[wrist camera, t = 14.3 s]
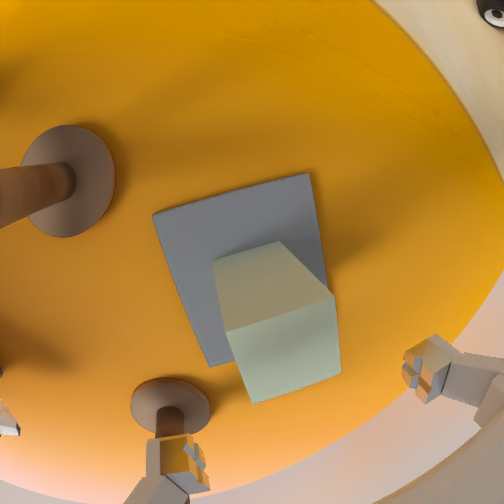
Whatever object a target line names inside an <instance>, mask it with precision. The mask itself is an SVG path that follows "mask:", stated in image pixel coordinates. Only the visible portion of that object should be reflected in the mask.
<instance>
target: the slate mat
mask: <svg viewBox="0 0 504 504" xmlns="http://www.w3.org/2000/svg"><path fill="white" fill-rule="evenodd" d="M152 219H153V222H154V225H155V228H156V232H157V235H158V238H159V240H160V243H161V246H162V249H163V252H164V255H165V258H166V261H167V264H168V266H169V269H170V272H171V275H172V277H173V280H174V283H175V285H176V288H177V291H178V293H179V296H180V298H181V301H182V304H183V306H184V309H185V311H186V314H187V316H188V319H189V321H190V323H191V326H192V328H193V331H194V333H195V335H196V338H197V340H198V343H199V345H200V347H201V349H202V352H203V354H204V356H205V359H206V361H207V363H208V365H209V368H210V367H214V366H218V365H222V364H225V363H229V362H232V361H235V358H234V355H233V353H232V350H231V347H230V344H229V342H228V339H227V336H226V333H225V330H224V325H223V320H222V315H221V310H220V305H219V300H218V295H217V290H216V284H215V279H214V274H213V268H212V263H211V261H212V260H215V259H219V258H222V257H226V256H229V255H232V254H236V253H239V252H243V251H246V250H249V249H253V248H256V247H260V246H263V245H267V244H270V243H273V242H277V241H280V242H281V243H282V244H283V245H284V246H285V247H286V248H287V249H288V250H289V251H290V252H291V253H292V254H293V255H294V256H295V257H296V258H297V259H298V260H299V261H300V262H301V263H302V264H303V265H304V266H305V267H306V268H307V269H308V270H309V271H310V272H311V273H312V274H313V275H314V276H315V277H316V278H317V279H318V280H319V281H320V282H321V283H322V284H323V285H324V286H325V287H326V288H327V289H328V286H327V278H326V271H325V264H324V257H323V250H322V244H321V237H320V231H319V225H318V219H317V214H316V208H315V202H314V197H313V192H312V186H311V181H310V176H309V173H301V174H297V175H292V176H288V177H284V178H280V179H276V180H271V181H267V182H263V183H259V184H256V185H252V186H248V187H244V188H240V189H236V190H233V191H229V192H225V193H222V194H218V195H215V196H211V197H208V198H204V199H201V200H197V201H194V202H190V203H187V204H184V205H180V206H177V207H174V208H171V209H167V210H164V211H161V212H158V213H155V214H153V215H152Z"/></svg>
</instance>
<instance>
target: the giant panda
mask: <svg viewBox="0 0 504 504" xmlns="http://www.w3.org/2000/svg"><path fill="white" fill-rule="evenodd" d="M1 377H2V370H1V368H0V378H1ZM20 429H21V428H20V427H19V425H18V422H17V419H16V417H15V416H14V415H13V414H12V412H11V411H10V410H9V409H8V408H7V407H6V406H5V405H4V404H3V402H2V400H1V398H0V437H1V434H5V435H16V436H20Z"/></svg>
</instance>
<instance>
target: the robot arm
mask: <svg viewBox="0 0 504 504" xmlns="http://www.w3.org/2000/svg"><path fill="white" fill-rule="evenodd" d="M403 359H404V360H405V361H406V362H405V363H404V365H403V366H402V376H403V379H404V381H405V383H406V384H407V385H408V386H409V387H410V388H414V389H416V395H417V396H418V397H419V398H420V399H421V401H422V402H423V403H424V404H427V403H428V402H430V401H431V400H433V399H435V398H436V397H438V396H439V395H440V394H441V395H443V396H446V397H448V398H451V399H454V400H457V401H460V402H463V403H466V404H469V405H473V406H475V407H479V409H478V410H477V412H476V414H475V416H474V421H475V422H476V423H477V424H478V425H479V426H480V427H481V428H482V429H481V430H479V431H478V432H477V433H476V434H475V435H474V436H473V437H472V438H470V439H469V440H468V441H467V442H466V443H464V444H463V445H462V446H461V447H460V448H458V449H457V450H456V451H455V452H453V453H452V454H451V455H450V456H448V457H447V458H445V459H444V460H443V461H442V462H440V463H439V464H437V465H436V466H434V467H433V468H432V469H430V470H429V471H427V472H426V473H424V474H423V475H421V476H420V477H418V478H417V479H415V480H413V481H412V482H410V483H409V484H407V485H405V486H404V487H402V488H400V489H398V490H397V491H395V492H393V493H391V494H390V495H388V496H386V497H384V498H382V499H380V500H378V501H376V502H374V503H372V504H504V359H503V358H496V357H489V356H483V355H477V354H471V353H463V354H461V353H460V352H459V351H458V350H457V349H455V348H454V347H453V346H452V345H450V344H449V343H448V342H447V341H445V340H444V339H443V338H442V337H440V336H439V335H437V334H434V335H432V336H431V337H429V338H427V339H426V340H424V341H422V342H420V343H419V344H417V345H415V346H414V347H412V348H410V349H409V350H407V351H406V352H405V353H404V357H403ZM205 467H206V462H205V458H204V455H203V452H202V450H201V448H200V446H199V445H198V444H196V443H194V442H193V437H192V436H191V435H190V434H189V433H187V434H181V435H175V436H168V437H161V438H155V439H148V441H147V444H146V477H142V478H141V480H140V481H139V483H138V484H137V486H136V487H135V488H134V490H133V491H132V493H131V494H130V495H129V497H128V498H127V500H126V501H125V502H124V504H185V502H186V500H187V498H188V494H194V493H200V492H205V491H210V486H209V480H208V476H207V474H206V473H205V472H204V471H203V470H204V469H205Z"/></svg>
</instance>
